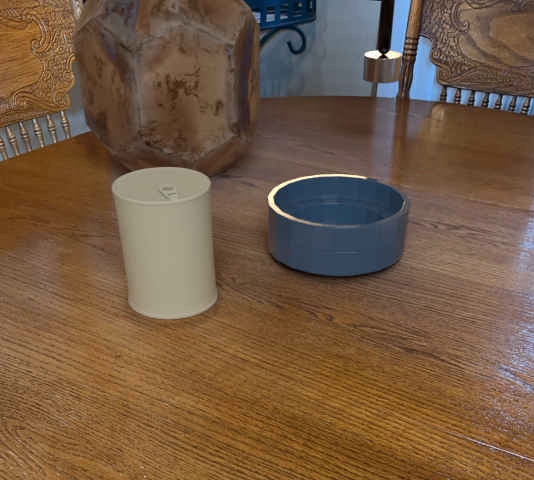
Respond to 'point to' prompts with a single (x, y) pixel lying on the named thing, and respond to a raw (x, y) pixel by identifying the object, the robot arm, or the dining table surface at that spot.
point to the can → (167, 241)
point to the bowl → (337, 224)
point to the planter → (170, 80)
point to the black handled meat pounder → (383, 51)
